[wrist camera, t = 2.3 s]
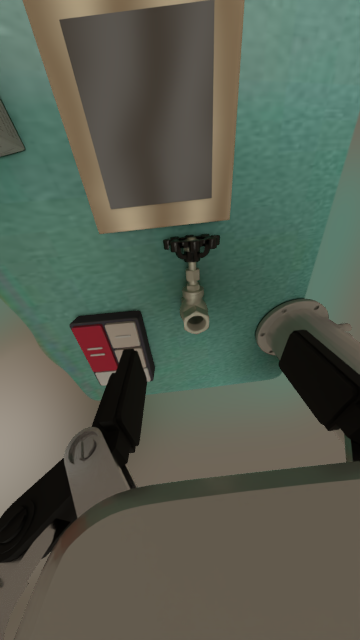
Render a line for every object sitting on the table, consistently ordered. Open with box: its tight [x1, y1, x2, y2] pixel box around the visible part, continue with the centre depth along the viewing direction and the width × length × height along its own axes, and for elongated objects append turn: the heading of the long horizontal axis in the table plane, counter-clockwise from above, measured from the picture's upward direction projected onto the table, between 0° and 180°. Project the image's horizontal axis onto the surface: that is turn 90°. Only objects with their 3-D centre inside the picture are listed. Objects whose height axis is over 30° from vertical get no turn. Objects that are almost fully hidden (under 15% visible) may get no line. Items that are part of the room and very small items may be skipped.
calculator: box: [70, 311, 155, 385], centre depth 30 cm, size 11×4×15 cm
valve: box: [163, 234, 220, 334], centre depth 22 cm, size 7×7×12 cm
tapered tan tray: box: [23, 0, 244, 234], centre depth 15 cm, size 14×14×4 cm
